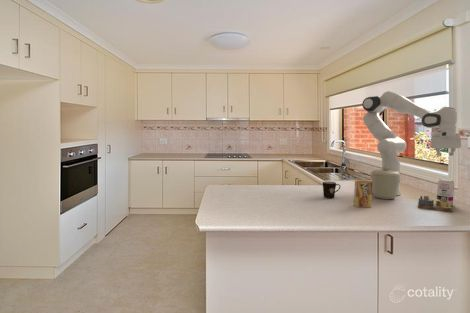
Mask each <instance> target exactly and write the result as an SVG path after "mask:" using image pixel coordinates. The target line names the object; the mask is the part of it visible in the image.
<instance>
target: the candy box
mask: <svg viewBox="0 0 470 313" xmlns="http://www.w3.org/2000/svg"><path fill="white" fill-rule="evenodd" d="M372 184H373V182H372V179H371V180H370V179H367V180H365V179H364V180H362V179H355V180H354V196H353V206H354V207H356V208H372V201H373V200H372V198H373V194H372Z"/></svg>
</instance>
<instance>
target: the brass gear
mask: <svg viewBox="0 0 470 313" xmlns="http://www.w3.org/2000/svg"><path fill="white" fill-rule="evenodd" d="M435 204H436V206H439V207H444V208H445V207H446V208H450V207H452V205H451V201H447V200H446V202H443V201H441V200H439V199H438V200H437V199H435Z"/></svg>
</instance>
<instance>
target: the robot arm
mask: <svg viewBox="0 0 470 313" xmlns="http://www.w3.org/2000/svg"><path fill="white" fill-rule="evenodd" d="M361 104H362V105H361V106H362V108H363V110H364V111H366V114H364V115H363V118H362V121H363V123H364V125H365V126H366V128H367V130H368V131H369V132H370V133H371V135H372V137H373V138H374V139H375V140H378V143H377V145H376V147H377V148H376V149H377V150H378V153H379V154H380V157H381V165H382V167H381V170H383V167H384V166H388V167H389V170H391V171H397V172H399V173H400V174H401V162H400V161H399V158H398V154H401V153H403V152H406V149H407V142H406V141H405V140H404V139H402V138H400V137H399V136H398V135H397V134H396V133H395V132H394V131H392V130H391V129H390V128H389V127H388V125H387V124H386V123H385V122H384V121H383V120H382V118H381V117H380V116H382V115H383V113H384V112H385V111H386V110H387V108H388V109H389V110H391V111H393V112H395V113H398V114H403V115H405V114H406V115H412V116H415V117H418V118H420V119H421V120H420V122H421V124H422V126H423V127H426V128H429V129H437V130H435V131H432V132H431V134H430V135H431V138H430V147H431V149H435V152H436V156H437V157H441V156H442V152H441V151H442V150H441V149H450V152H448V155H449V157H451V156H452V157H453V156H454V154H455V151H456V149H460V148H462V140H461V139H462V138H461V135H460V134H459V133H458V132H457V127H456V123H457V116H458V115H457V114H458V113H457V109H456V108H454V107H451V106H441V107H440V108H438V109H436V110H433V111H430V110H428V109H426V108H423V107H421V106H419V105H417V104H416V103H414V102H413V101H411V100H410V99H409V98H406V97H405V96H403V95H401V94H398V93H396V92H394V91H390V90H389V91H385V92H383V93H382V95H381V96H378V95H376V96H375V95H374V96H367V97H365V98H364V99H363V101H362V103H361ZM456 132H457V133H456ZM399 183H401V178H400V179H399ZM400 186H401V185H400V184H399V185H398V190H397V195H396V196H401V195H402V193H401V189H400V188H401V187H400ZM372 195H373V188H372Z"/></svg>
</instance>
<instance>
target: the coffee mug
mask: <svg viewBox="0 0 470 313" xmlns="http://www.w3.org/2000/svg"><path fill="white" fill-rule="evenodd" d="M337 186H339V187H338V188H337V190H336V187H337ZM340 189H341V184H339V183H337V182H336V181H328V180H326V181H322V193H323V198H324V199H331V200H332V199H335V193H337V192H338V191H339V190H340Z"/></svg>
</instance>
